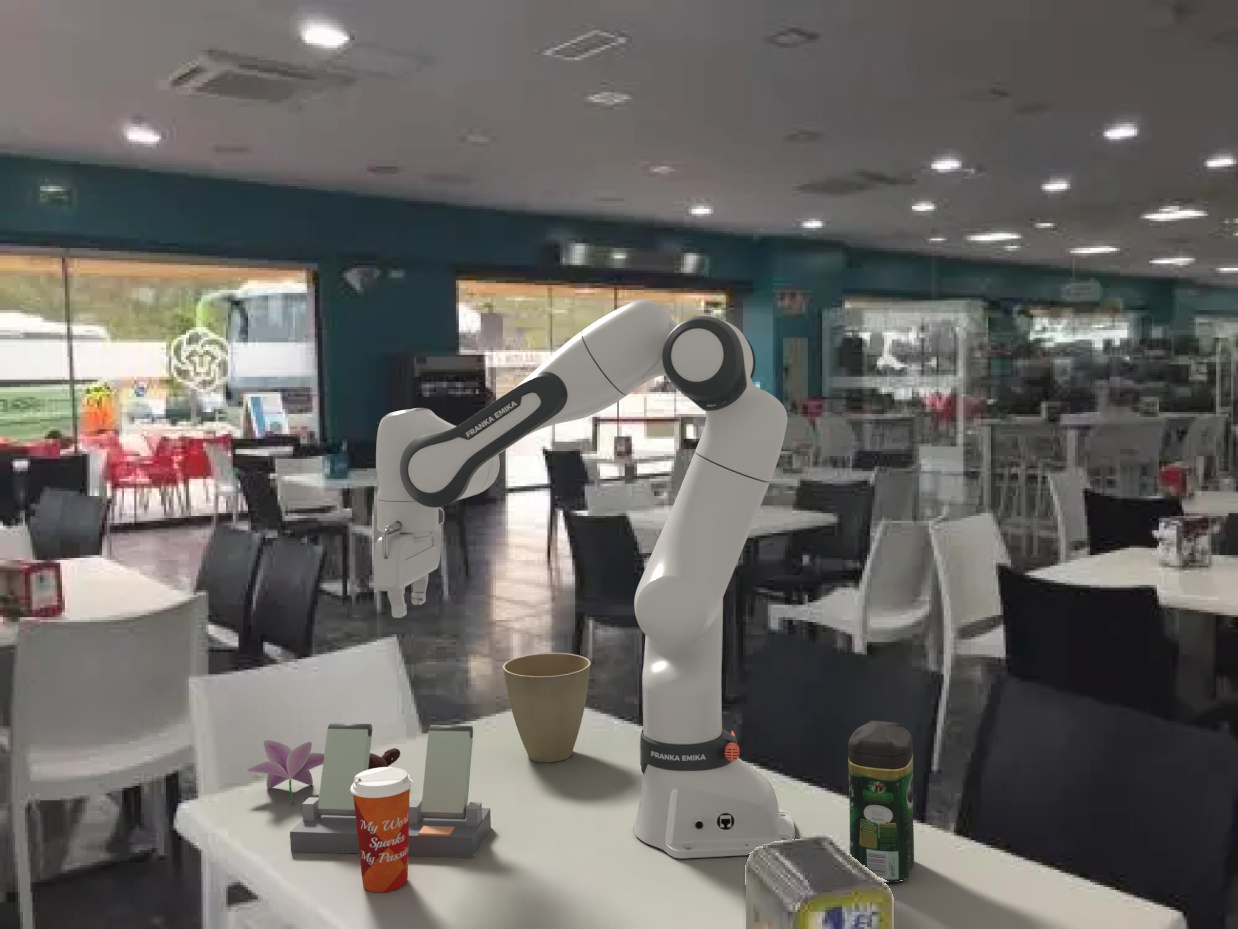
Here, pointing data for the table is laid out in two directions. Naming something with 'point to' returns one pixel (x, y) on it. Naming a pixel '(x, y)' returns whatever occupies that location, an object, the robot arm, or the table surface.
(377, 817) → the paper cup
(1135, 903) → the table surface
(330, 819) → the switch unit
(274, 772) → the lily
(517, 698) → the plant pot
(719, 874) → the table surface
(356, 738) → the lever
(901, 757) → the coffee jar
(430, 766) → the lever
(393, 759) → the icecream
